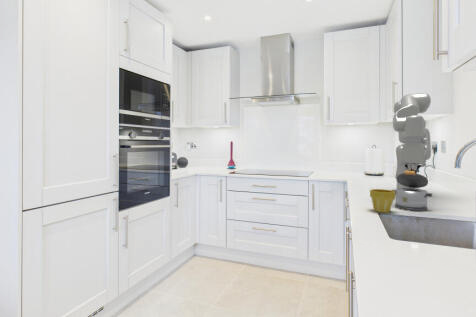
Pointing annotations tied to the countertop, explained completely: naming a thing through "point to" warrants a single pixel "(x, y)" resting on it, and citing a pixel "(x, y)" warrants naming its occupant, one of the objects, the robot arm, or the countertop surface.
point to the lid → (412, 179)
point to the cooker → (411, 199)
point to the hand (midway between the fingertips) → (412, 178)
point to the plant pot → (382, 199)
